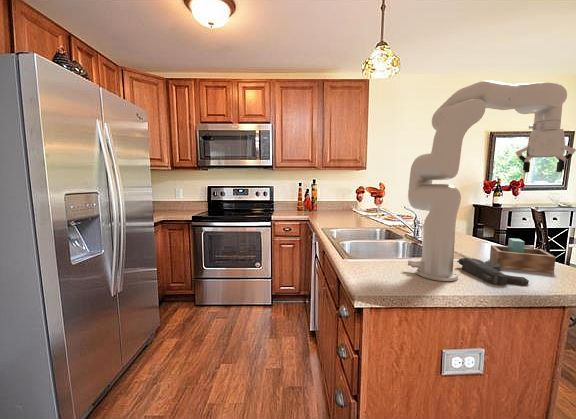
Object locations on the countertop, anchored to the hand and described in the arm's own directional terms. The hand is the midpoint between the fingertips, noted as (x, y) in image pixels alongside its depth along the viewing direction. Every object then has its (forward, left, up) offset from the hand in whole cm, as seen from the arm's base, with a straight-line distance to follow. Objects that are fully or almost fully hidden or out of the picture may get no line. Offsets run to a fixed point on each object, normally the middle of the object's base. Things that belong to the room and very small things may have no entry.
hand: (542, 172), depth 105 cm
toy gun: (-19, -25, -37) cm, 48 cm away
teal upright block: (-8, -7, -36) cm, 37 cm away
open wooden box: (-7, -7, -36) cm, 37 cm away
